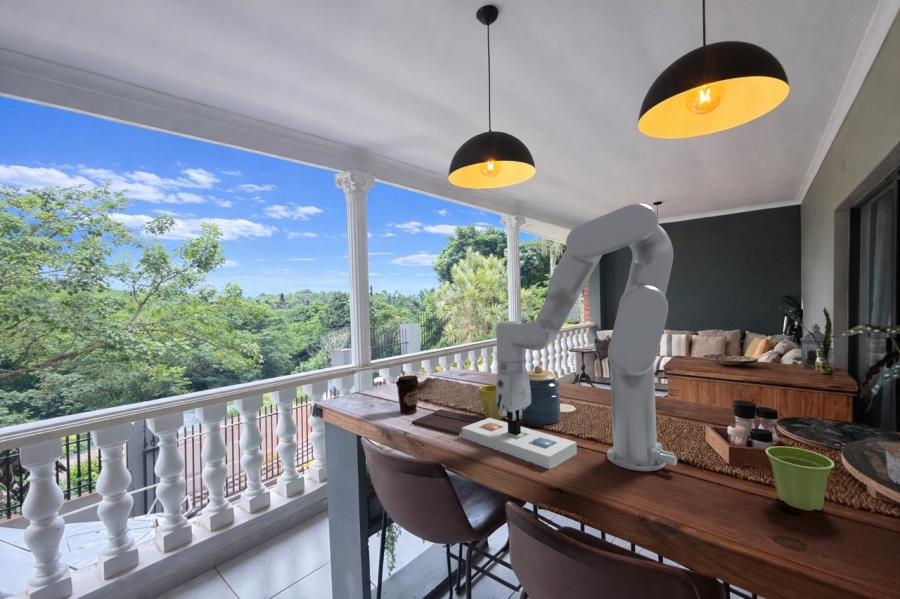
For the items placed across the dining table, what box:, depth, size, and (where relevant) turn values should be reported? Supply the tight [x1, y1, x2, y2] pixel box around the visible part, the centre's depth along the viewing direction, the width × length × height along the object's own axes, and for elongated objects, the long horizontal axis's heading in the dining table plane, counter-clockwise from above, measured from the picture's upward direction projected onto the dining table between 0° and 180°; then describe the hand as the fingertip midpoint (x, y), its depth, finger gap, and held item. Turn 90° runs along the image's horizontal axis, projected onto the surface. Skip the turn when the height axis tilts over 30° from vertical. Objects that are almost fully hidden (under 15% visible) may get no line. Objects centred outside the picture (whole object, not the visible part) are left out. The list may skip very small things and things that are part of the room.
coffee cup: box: [395, 374, 419, 415], centre depth 138 cm, size 9×8×13 cm
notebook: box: [411, 408, 487, 437], centre depth 124 cm, size 15×20×2 cm
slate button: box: [533, 438, 552, 449], centre depth 96 cm, size 5×5×3 cm
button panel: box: [461, 418, 578, 470], centre depth 103 cm, size 30×12×3 cm, turn 41°
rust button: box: [483, 423, 499, 432], centre depth 109 cm, size 5×5×3 cm
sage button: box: [506, 431, 524, 440], centre depth 103 cm, size 5×5×3 cm
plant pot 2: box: [765, 445, 835, 511], centre depth 70 cm, size 9×9×9 cm
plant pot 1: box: [478, 384, 506, 420], centre depth 128 cm, size 10×10×10 cm
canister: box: [521, 365, 562, 425], centre depth 124 cm, size 13×13×18 cm
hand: (514, 433), depth 103 cm, fingers closed
